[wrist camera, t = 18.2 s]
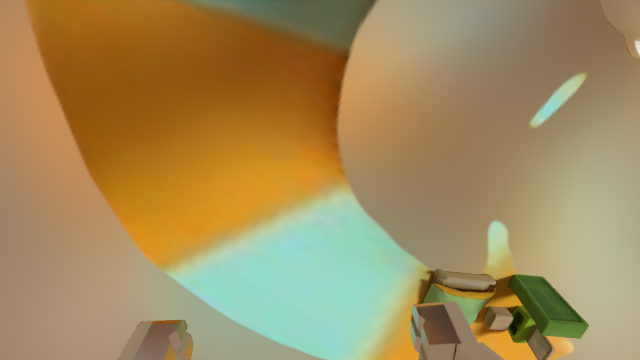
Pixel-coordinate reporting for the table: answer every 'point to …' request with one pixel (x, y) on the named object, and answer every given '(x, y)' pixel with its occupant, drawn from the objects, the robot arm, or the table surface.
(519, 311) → the dollhouse furniture set
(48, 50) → the table surface
